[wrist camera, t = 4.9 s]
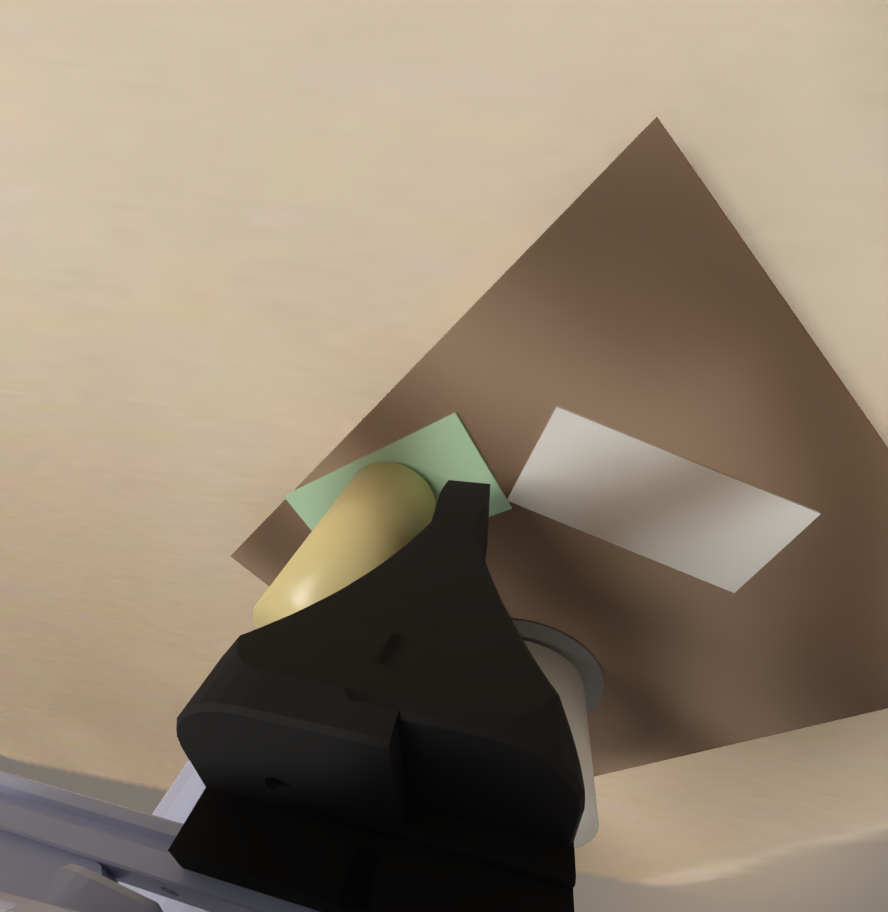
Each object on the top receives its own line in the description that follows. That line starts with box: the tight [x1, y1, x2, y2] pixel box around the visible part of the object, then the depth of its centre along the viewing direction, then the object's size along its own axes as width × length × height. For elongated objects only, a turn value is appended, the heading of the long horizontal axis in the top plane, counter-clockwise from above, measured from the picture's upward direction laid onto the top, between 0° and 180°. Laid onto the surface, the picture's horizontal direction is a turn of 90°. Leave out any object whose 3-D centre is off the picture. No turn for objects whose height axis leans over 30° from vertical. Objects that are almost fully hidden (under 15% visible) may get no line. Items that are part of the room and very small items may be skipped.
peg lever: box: [253, 462, 599, 848], centre depth 12 cm, size 13×5×5 cm, turn 30°
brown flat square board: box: [231, 117, 888, 776], centre depth 14 cm, size 18×18×1 cm
